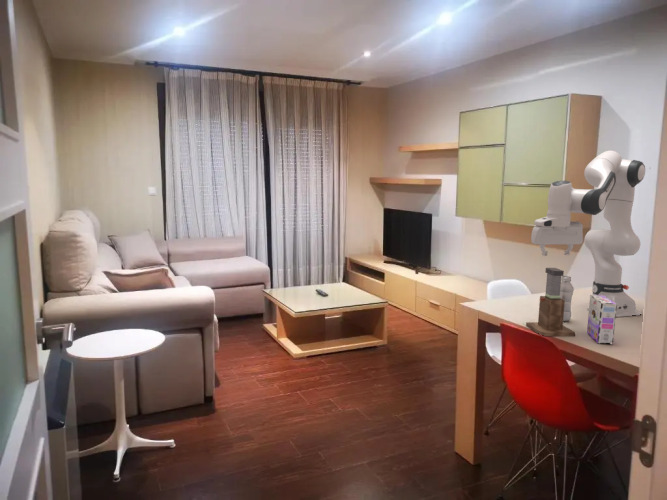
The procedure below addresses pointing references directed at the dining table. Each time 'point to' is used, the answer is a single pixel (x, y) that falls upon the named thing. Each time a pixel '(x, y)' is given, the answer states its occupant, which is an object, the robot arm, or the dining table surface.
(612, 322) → the candy box
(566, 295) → the plastic bottle
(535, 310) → the dining table surface
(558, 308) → the stand
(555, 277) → the column
